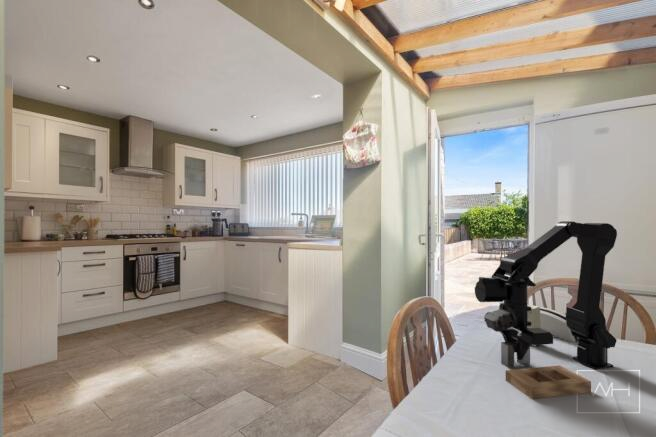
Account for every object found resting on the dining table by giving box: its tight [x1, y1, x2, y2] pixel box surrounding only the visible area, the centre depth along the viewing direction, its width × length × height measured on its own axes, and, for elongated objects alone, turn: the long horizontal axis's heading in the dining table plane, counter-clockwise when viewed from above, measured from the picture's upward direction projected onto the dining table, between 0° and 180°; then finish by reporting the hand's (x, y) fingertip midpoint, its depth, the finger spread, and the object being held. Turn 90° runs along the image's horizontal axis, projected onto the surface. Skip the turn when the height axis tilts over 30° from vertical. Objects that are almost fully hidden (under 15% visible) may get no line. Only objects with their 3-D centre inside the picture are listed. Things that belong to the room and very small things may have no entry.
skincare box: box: [527, 304, 541, 347], centre depth 101 cm, size 6×4×12 cm
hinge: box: [539, 306, 579, 343], centre depth 109 cm, size 17×5×10 cm, turn 23°
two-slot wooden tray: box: [505, 364, 592, 400], centre depth 74 cm, size 16×8×2 cm, turn 100°
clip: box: [500, 341, 531, 368], centre depth 85 cm, size 7×2×6 cm, turn 100°
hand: (515, 357), depth 85 cm, fingers open, 3 cm apart
